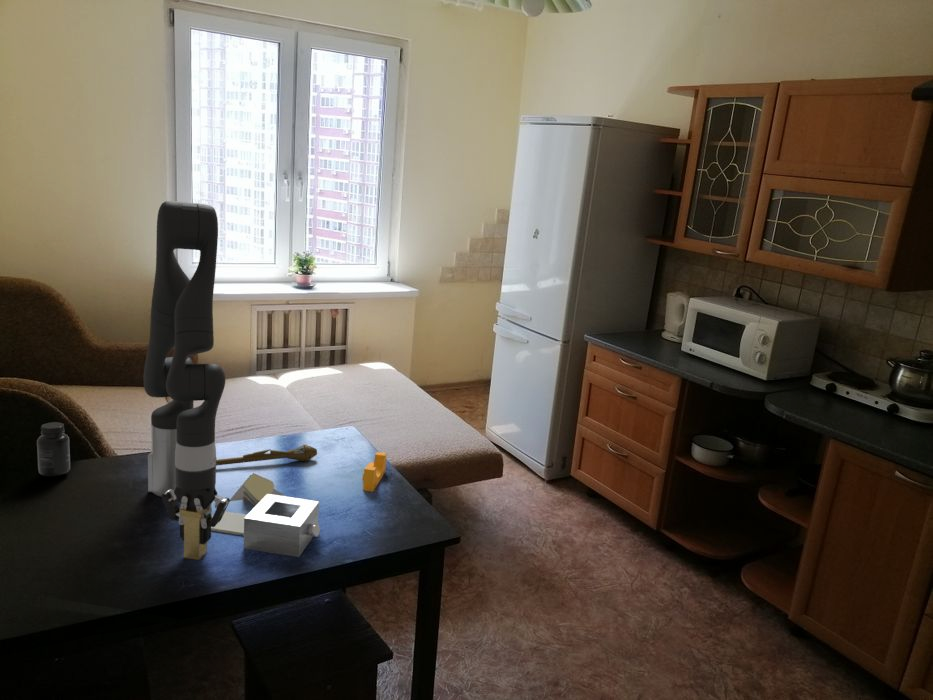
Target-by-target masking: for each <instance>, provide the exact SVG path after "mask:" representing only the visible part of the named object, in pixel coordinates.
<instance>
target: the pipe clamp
mask: <svg viewBox="0 0 933 700" xmlns="http://www.w3.org/2000/svg"><path fill="white" fill-rule="evenodd" d="M386 463H387V453H386V452H382V451H376V453H375V454H374V462H372V461H371V462H370V461H369V462H368V464H367V465H366V466H365V467H364V468H363V474H362V481H363V482H362V483H363V484H362V486H363V487H362V491H366V492H374V491H375V489H376V488H377V486H378V484H379V483H380V481H381V480H382V478H383V477H384V475H385V474H386V468H387V467H386V466H387V464H386Z"/></svg>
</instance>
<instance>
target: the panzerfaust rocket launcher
mask: <svg viewBox="0 0 933 700" xmlns="http://www.w3.org/2000/svg"><path fill="white" fill-rule="evenodd" d="M268 452H269V453H268ZM317 455H318V450H317V448H315V447H313V446H311V445H308V444H303V445H300V446H298V447H294V448H292V449H290V450H287V451H286V450H285V451H284V450H276V449H274V450H273V449H271V448H269V449H265V450H261V451H255V452H252V453H247V454H243V455H242V456H239V457H229V458H220V459H217V460H216V467H217V466H225V465H233V464H234V465H235V464H241V463H253V462H261V461H262V462H263V461H271V460H278V459H279V460H280V459H288V460H295V461H301V462H305V463H306V462H309V460H311V459H313V458H315V457H316V456H317Z"/></svg>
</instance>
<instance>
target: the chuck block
mask: <svg viewBox="0 0 933 700" xmlns="http://www.w3.org/2000/svg"><path fill="white" fill-rule="evenodd" d="M319 512H320V501H318V500H311V499H306V498H299V497H292V496H285V495H284V496H279V495H272V494H267V495H266V496H265V497H264V498H263V499H262V500H261V501H260V502H259V503H258V504H257V505H256V506H254V507H253V508H252V509H251V510H250V511H249V512H248V513H247V514H246V515H247V516H246V517H245V518H244V536H243V550H249V551H250V550H251V551H258V552H263V553H271V554H277V555H283V556H290V557H295V558H296V557H297V558H299V557H300V556H301V555H302V553H303V552H304V550H305V549H306V548H307V546H308V545H309V544H310V542H311V541H312V539H313V538H314V537H317V538H318V537H319V535H320V532H321V526H320V525H319Z"/></svg>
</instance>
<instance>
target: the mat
mask: <svg viewBox="0 0 933 700" xmlns="http://www.w3.org/2000/svg"><path fill="white" fill-rule="evenodd" d="M213 515H214V514H212V518H213ZM247 515H248V514H244V513H240V512H239V513H238V512H232V511H227V510H225V513H224V515H223V517H222V519H221V521H220V522H218V523H217V524H216V526H215V527H211V532H212V531H213V532H218V533H225V534H232V535H238V536H243V537H244V518H245V517H246V516H247Z"/></svg>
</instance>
